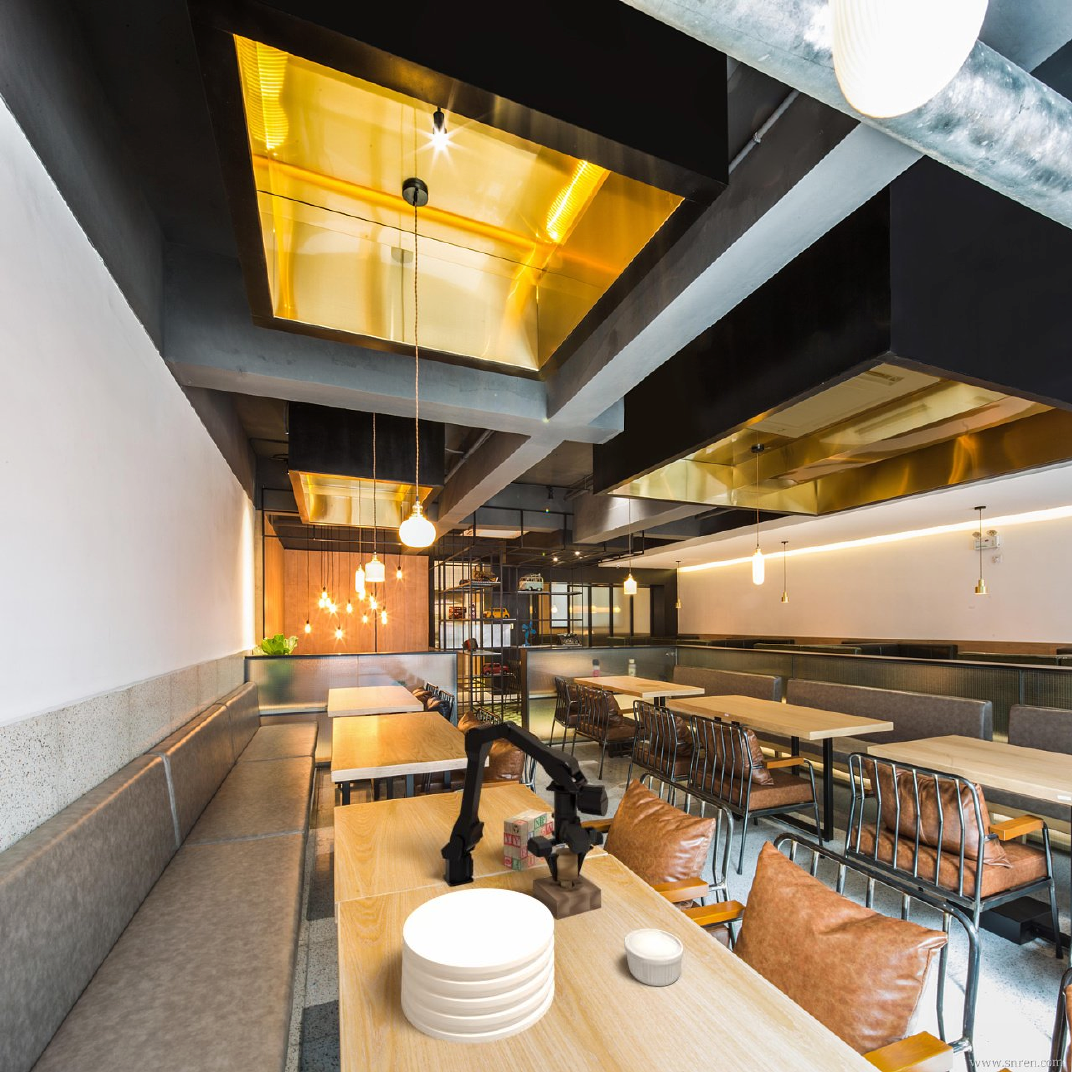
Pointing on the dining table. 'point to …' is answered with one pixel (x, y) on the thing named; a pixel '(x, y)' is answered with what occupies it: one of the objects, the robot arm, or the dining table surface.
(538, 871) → the dining table surface
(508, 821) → the stack of blocks
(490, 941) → the plate stack
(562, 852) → the peg
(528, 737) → the robot arm
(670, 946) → the ramekin
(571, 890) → the board
